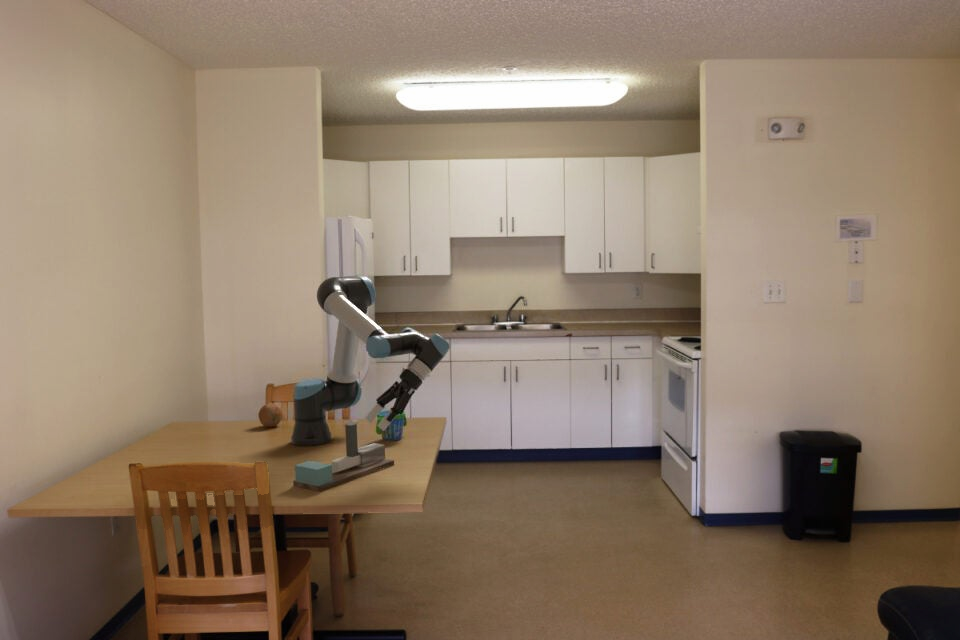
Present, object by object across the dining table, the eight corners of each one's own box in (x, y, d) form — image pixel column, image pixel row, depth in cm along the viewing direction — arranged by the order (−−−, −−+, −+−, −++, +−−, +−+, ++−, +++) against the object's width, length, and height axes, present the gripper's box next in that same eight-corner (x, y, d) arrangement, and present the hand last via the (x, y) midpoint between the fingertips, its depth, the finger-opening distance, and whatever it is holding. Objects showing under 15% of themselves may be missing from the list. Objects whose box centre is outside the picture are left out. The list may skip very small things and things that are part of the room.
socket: (295, 481, 240) (294, 465, 240) (310, 476, 245) (309, 460, 245) (318, 486, 234) (317, 469, 234) (332, 481, 239) (331, 464, 239)
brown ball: (276, 423, 333) (274, 400, 332) (287, 426, 325) (286, 402, 324) (255, 427, 326) (253, 403, 325) (266, 430, 319) (264, 406, 318)
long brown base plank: (293, 485, 241) (292, 465, 240) (367, 460, 268) (367, 441, 268) (320, 491, 234) (319, 470, 233) (394, 464, 261) (393, 445, 261)
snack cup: (386, 445, 289) (385, 418, 288) (367, 441, 295) (366, 414, 295) (416, 436, 301) (415, 410, 300) (397, 433, 307) (396, 407, 306)
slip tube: (331, 470, 248) (329, 425, 247) (378, 454, 266) (376, 412, 265) (338, 471, 246) (336, 426, 245) (385, 455, 264) (383, 413, 263)
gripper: (436, 386, 250) (394, 439, 245) (409, 376, 272) (370, 424, 267) (420, 372, 247) (377, 424, 242) (394, 363, 270) (354, 411, 265)
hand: (373, 424), depth 255 cm, fingers open, 13 cm apart
